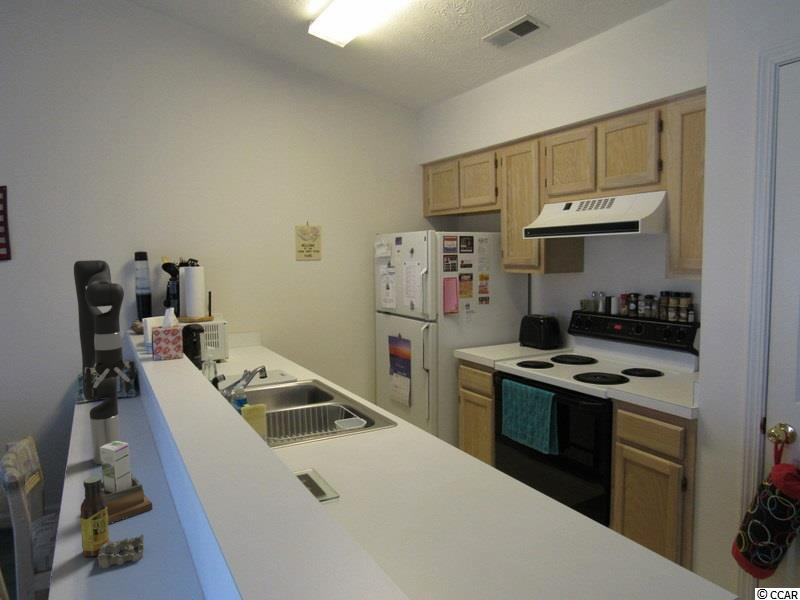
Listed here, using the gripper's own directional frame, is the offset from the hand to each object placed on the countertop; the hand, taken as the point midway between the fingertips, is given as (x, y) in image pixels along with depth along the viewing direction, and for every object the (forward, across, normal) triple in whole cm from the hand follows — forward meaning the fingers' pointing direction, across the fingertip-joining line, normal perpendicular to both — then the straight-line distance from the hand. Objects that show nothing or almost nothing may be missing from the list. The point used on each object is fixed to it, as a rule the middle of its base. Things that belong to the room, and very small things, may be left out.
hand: (111, 395), depth 166 cm
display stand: (+32, +3, +12) cm, 35 cm away
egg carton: (+32, +10, +40) cm, 52 cm away
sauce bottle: (+32, +14, +32) cm, 48 cm away
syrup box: (+27, +3, +12) cm, 29 cm away
